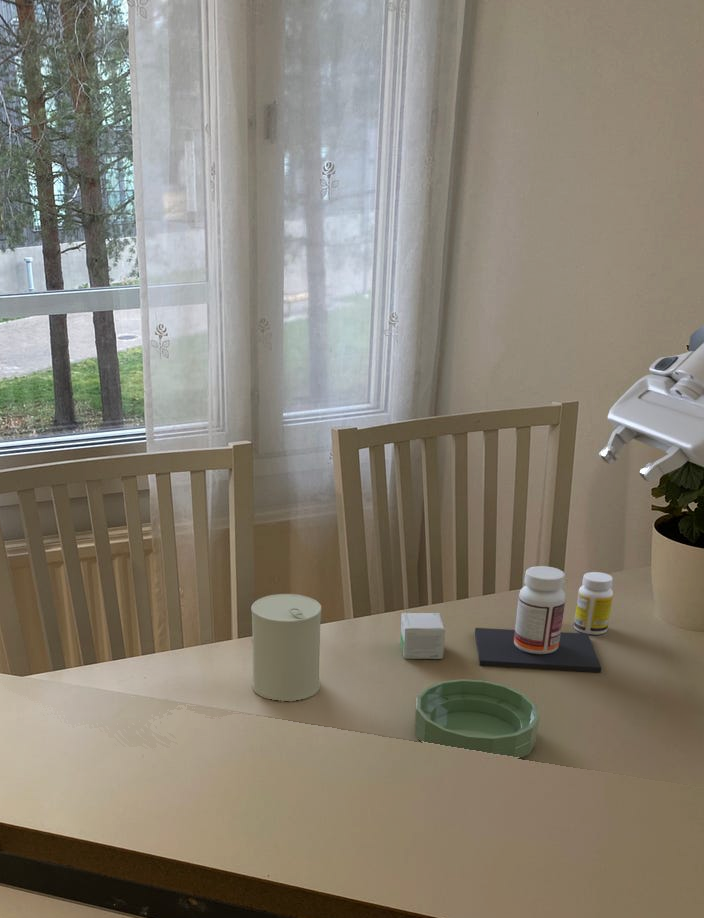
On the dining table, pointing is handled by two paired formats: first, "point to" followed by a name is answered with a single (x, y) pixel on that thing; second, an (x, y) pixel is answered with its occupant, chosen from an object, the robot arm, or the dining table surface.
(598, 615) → the supplement bottle
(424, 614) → the small box
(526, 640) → the pill bottle
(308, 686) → the can
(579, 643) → the mat
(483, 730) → the bowl
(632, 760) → the dining table surface
